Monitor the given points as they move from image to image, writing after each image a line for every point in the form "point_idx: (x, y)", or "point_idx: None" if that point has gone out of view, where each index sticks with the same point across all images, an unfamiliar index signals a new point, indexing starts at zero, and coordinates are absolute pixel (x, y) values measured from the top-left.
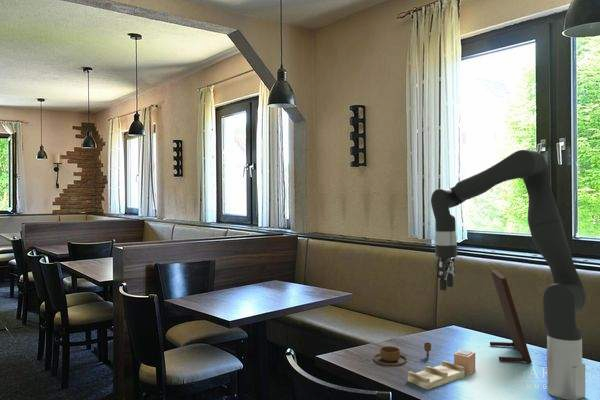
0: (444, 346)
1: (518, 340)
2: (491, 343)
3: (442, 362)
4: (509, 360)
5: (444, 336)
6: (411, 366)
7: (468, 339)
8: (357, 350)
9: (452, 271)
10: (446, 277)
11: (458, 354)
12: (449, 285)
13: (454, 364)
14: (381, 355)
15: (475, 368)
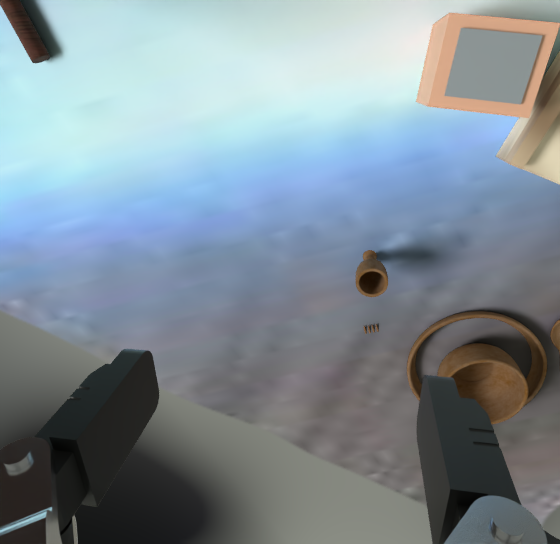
0: (185, 237)
1: None
2: (42, 50)
3: (520, 167)
4: None
5: (62, 269)
6: (503, 284)
7: (30, 173)
8: (402, 474)
9: (51, 535)
10: (491, 536)
11: (532, 92)
12: (150, 387)
13: (557, 101)
14: (506, 402)
15: (434, 23)
